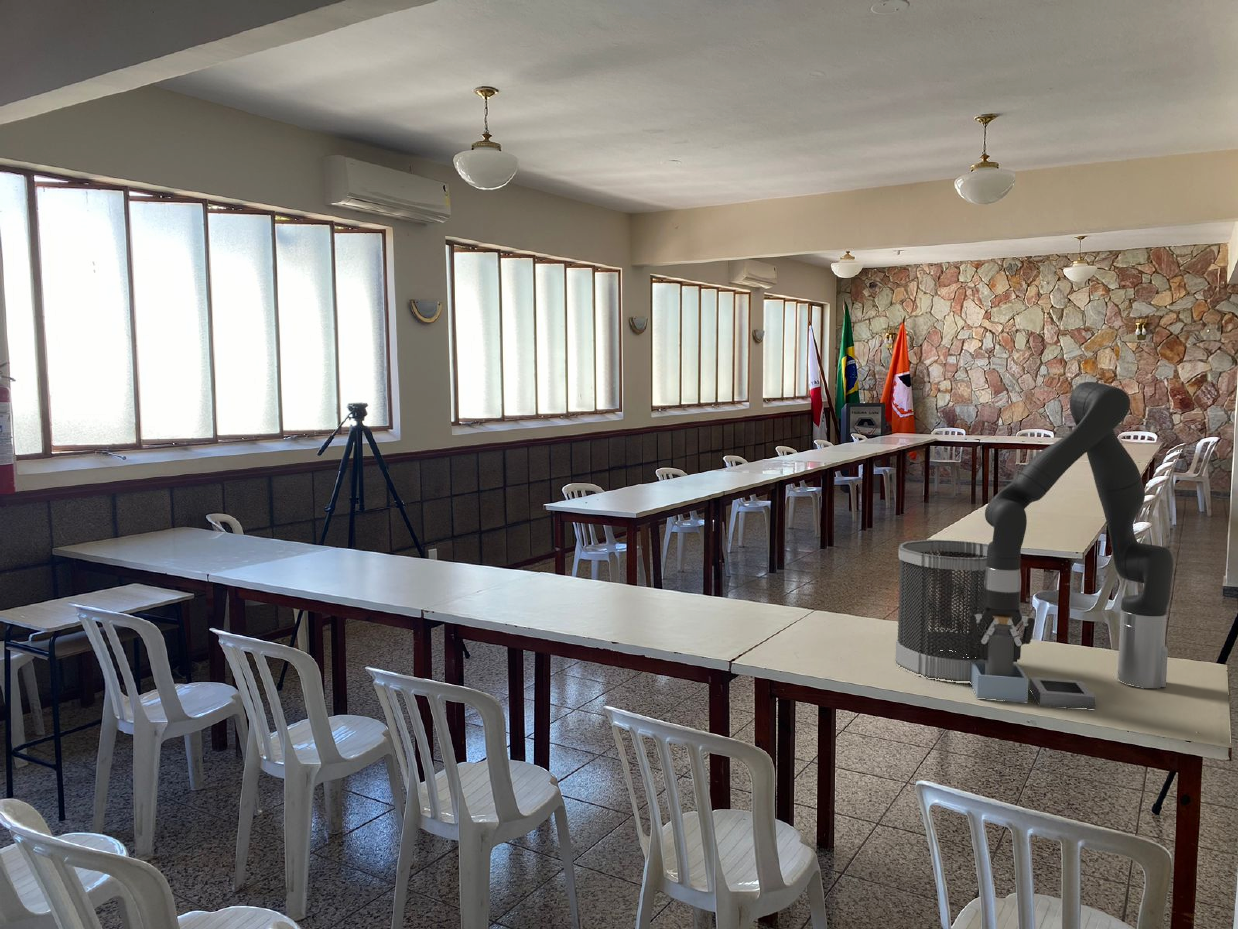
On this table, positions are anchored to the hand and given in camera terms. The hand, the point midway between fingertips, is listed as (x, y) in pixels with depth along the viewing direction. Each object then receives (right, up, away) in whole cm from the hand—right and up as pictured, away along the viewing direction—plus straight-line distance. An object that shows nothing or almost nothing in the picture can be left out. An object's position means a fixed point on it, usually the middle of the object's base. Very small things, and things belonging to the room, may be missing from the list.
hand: (999, 659), depth 200 cm
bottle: (0, -5, 0) cm, 5 cm away
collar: (+12, -8, -3) cm, 15 cm away
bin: (0, -8, +1) cm, 8 cm away
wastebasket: (-4, -7, +21) cm, 22 cm away
